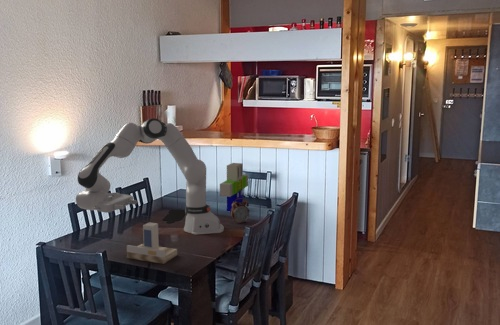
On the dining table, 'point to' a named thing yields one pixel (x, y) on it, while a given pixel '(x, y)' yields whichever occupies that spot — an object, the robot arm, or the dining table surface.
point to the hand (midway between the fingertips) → (130, 204)
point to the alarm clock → (239, 211)
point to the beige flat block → (151, 253)
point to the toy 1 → (174, 216)
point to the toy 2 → (234, 184)
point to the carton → (151, 235)
